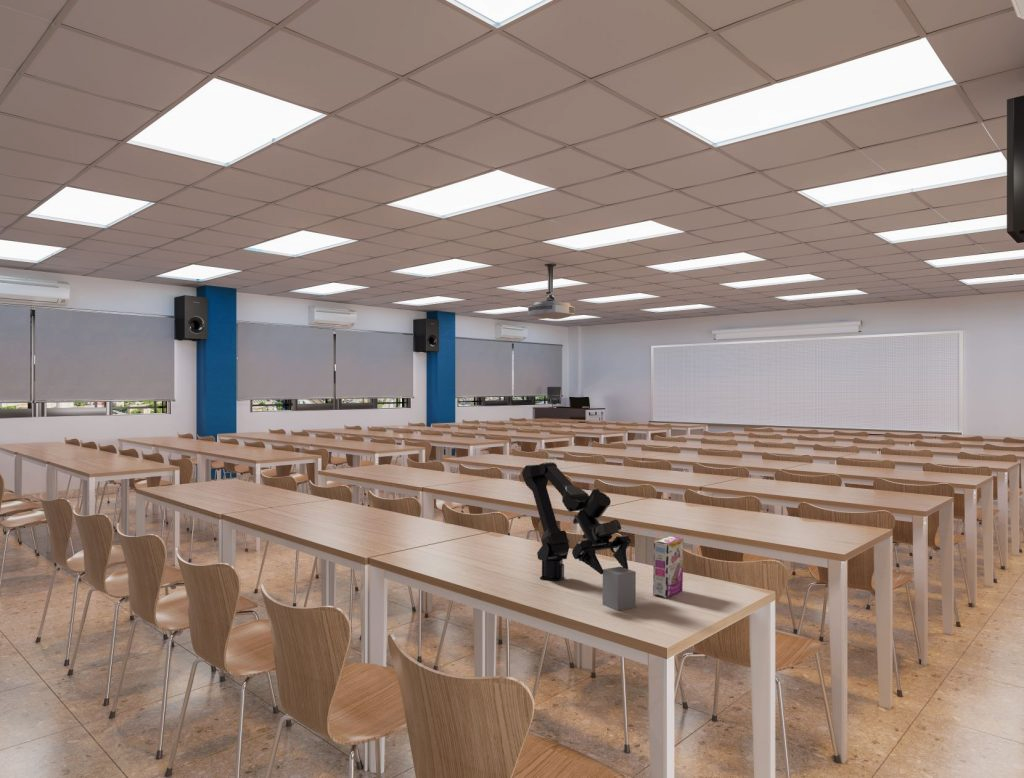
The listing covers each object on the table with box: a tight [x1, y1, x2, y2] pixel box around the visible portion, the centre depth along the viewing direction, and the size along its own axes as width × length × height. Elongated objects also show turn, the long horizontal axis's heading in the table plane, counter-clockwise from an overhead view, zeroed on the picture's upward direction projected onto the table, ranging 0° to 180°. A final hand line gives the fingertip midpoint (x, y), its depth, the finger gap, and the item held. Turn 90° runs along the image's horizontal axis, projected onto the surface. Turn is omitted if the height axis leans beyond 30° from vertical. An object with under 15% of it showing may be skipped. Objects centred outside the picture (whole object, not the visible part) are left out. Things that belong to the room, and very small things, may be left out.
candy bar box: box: [652, 536, 684, 599], centre depth 195 cm, size 11×5×16 cm, turn 141°
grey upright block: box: [602, 566, 637, 612], centre depth 182 cm, size 7×7×10 cm
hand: (614, 571), depth 184 cm, fingers open, 9 cm apart
